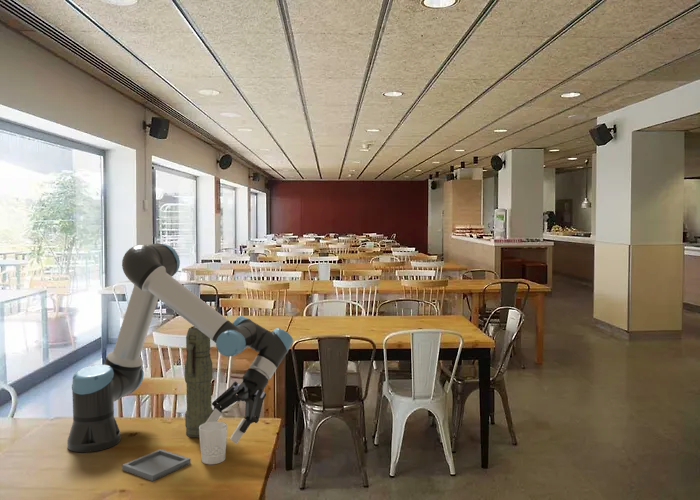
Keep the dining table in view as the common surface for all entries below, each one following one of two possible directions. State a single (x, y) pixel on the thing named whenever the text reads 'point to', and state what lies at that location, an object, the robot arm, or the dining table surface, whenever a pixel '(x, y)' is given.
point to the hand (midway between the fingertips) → (218, 435)
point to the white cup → (213, 442)
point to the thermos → (197, 380)
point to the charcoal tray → (156, 464)
